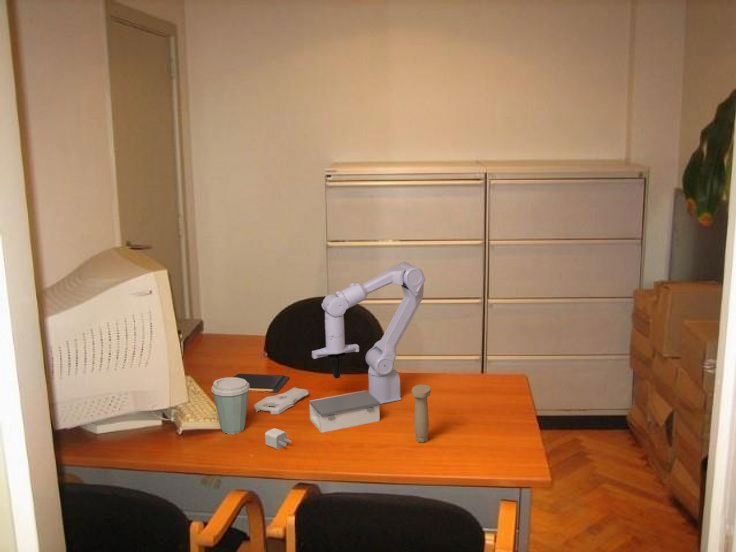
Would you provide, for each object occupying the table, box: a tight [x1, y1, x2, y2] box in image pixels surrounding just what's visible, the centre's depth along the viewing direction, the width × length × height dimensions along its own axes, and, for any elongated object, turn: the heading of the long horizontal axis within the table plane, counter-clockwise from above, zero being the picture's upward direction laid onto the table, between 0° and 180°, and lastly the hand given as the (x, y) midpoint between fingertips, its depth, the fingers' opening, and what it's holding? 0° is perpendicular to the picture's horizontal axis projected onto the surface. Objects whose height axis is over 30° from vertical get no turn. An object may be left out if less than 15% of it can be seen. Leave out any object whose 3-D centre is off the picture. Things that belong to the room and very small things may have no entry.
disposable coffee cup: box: [211, 376, 250, 435], centre depth 204 cm, size 11×11×15 cm
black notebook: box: [233, 373, 291, 394], centre depth 241 cm, size 20×2×15 cm
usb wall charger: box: [264, 427, 292, 450], centre depth 194 cm, size 4×7×4 cm, turn 51°
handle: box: [411, 384, 432, 444], centre depth 194 cm, size 5×6×15 cm
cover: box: [308, 389, 381, 416], centre depth 208 cm, size 18×10×1 cm, turn 113°
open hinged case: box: [308, 403, 381, 434], centre depth 209 cm, size 18×11×5 cm, turn 113°
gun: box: [253, 386, 310, 415], centre depth 223 cm, size 18×4×10 cm
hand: (336, 377), depth 218 cm, fingers closed
